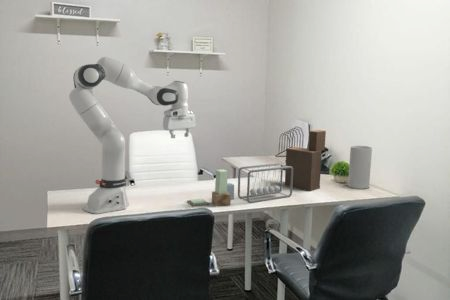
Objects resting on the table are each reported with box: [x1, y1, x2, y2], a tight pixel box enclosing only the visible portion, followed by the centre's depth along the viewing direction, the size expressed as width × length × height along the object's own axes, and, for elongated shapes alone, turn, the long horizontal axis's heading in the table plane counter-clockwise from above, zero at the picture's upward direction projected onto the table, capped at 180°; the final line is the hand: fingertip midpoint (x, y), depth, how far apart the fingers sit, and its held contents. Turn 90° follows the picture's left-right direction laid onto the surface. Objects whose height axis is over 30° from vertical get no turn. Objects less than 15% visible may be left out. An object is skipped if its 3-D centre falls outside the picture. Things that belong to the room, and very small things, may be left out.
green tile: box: [186, 198, 210, 207], centre depth 219 cm, size 9×9×1 cm
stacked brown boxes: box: [284, 129, 327, 192], centre depth 256 cm, size 19×14×35 cm
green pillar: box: [214, 168, 229, 194], centre depth 217 cm, size 4×4×12 cm
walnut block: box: [211, 190, 232, 207], centre depth 219 cm, size 8×8×6 cm
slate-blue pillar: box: [227, 182, 235, 201], centre depth 228 cm, size 4×4×8 cm
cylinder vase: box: [347, 145, 373, 190], centre depth 258 cm, size 12×12×25 cm
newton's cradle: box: [237, 162, 293, 204], centre depth 231 cm, size 30×10×18 cm, turn 120°
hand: (179, 137), depth 226 cm, fingers open, 8 cm apart
